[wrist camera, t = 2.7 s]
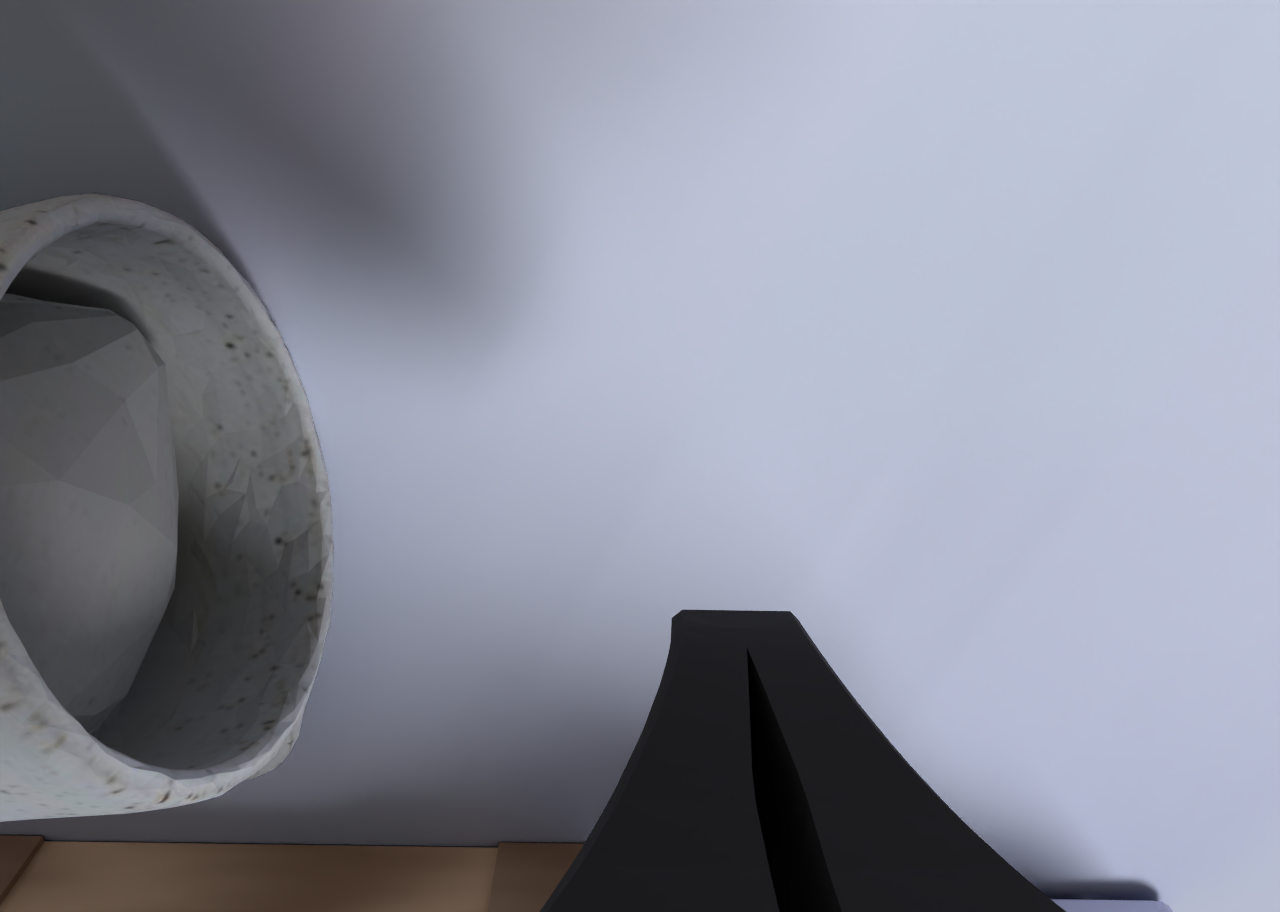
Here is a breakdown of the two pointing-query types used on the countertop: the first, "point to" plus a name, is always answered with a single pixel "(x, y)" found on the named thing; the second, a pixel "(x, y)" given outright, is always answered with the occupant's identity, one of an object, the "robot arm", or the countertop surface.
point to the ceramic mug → (148, 517)
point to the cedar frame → (276, 877)
